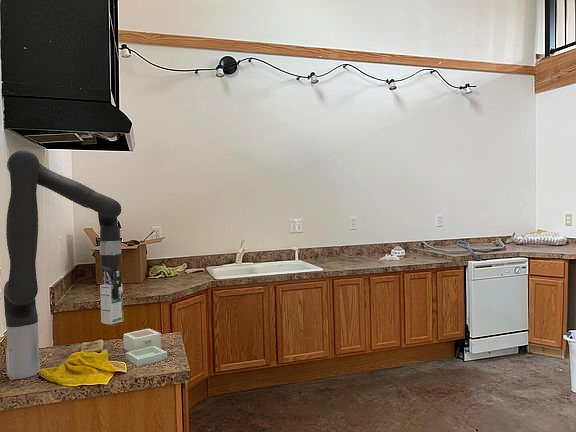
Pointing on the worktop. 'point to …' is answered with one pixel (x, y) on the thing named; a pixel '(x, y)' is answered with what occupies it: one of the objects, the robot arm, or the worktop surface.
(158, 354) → the tray
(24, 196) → the robot arm
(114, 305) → the syrup box
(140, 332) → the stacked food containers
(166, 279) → the worktop surface
